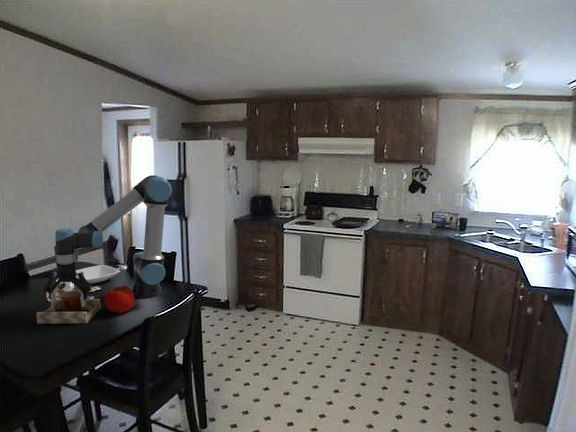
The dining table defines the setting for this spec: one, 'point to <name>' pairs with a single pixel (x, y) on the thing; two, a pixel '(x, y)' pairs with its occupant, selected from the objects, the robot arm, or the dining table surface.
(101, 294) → the dining table surface
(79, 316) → the tan wooden shallow box
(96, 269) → the bowl
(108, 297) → the tomato
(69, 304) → the mug
